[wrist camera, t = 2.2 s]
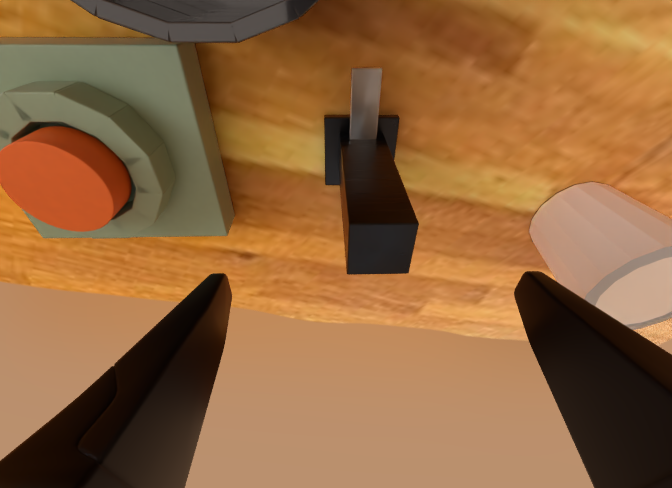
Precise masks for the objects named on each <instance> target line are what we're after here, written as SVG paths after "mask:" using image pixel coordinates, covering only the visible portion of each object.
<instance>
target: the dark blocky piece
mask: <svg viewBox="0 0 672 488" xmlns="http://www.w3.org/2000/svg"><path fill="white" fill-rule="evenodd" d="M381 80H382V67H352V71H351V101H350V115H325V116H324V126H325V184H326V185H340V193H341V206H342V219H343V231H344V244H345V257H346V269H347V274H403V273H409V268H410V263H411V259H412V254H413V249H414V244H415V239H416V235H417V230H418V225H419V223H418V220H417V218H416V215H415V213H414V210H413V208H412V205H411V203H410V200H409V198H408V195H407V193H406V190H405V187H404V185H403V182H402V180H401V177H400V175H399V172H398V170H397V167H396V165H395V162H394V157H395V149H396V142H397V134H398V126H399V116H398V115H378V114H379V103H380V91H381Z"/></svg>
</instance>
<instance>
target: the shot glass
mask: <svg viewBox="0 0 672 488" xmlns="http://www.w3.org/2000/svg"><path fill="white" fill-rule="evenodd" d="M529 233H530V236H531V239H532V241H533V243H534V245H535V246H536V248H537V249H538V251H539V253H540V254H541V256H542V258H543V259H544V261H545V262H546V264H547V266H548V267H549V269H550V271H551V272H552V274H553V275H554V277H555V279H556V280H557V282H558V283H559V284H561V285H563V286H564V287H566V288H567V289H569V290H570V291H572V292H574V293H575V294H577V295H578V296H580V297H581V298H583V299H585V300H586V301H588V302H589V303H591V304H592V305H594V306H596V307H597V308H599V309H600V310H602V311H603V312H605V313H607V314H608V315H610V316H611V317H613V318H614V319H616V320H618V321H619V322H621V323H622V324H624V325H626V326H627V327H629V328H630V329H632V330H634V329H640V328H643V327H647V326H650V325H653V324H656V323H659V322H663V321H666V320H668V319H670V318H672V219H670V218H668V217H667V216H665V215H663V214H661V213H659V212H657V211H656V210H654V209H652V208H650V207H648V206H646V205H644V204H643V203H641V202H639V201H637V200H635V199H633V198H631V197H630V196H628V195H626V194H624V193H622V192H620V191H618V190H617V189H615V188H613V187H611V186H609V185H607V184H602V183H596V182H589V183H583V184H578V185H573V186H571V187H569V188H567V189H565V190H563V191H561V192H559V193H557V194H555V195H554V196H553V197H551V198H550V199H549V200H548V201H547V202H545V203H544V204H543V205H542V206H541V207H540V208H539V210H538V211H537V213H536V214H535V215H534V217H533V218H532V221H531V225H530V229H529Z"/></svg>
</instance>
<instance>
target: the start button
mask: <svg viewBox="0 0 672 488" xmlns="http://www.w3.org/2000/svg"><path fill="white" fill-rule="evenodd" d="M0 184H1V186H2V187H3V189H4V190H5V192H6V193H7V194H8V196H9V197H10V198H11V199H12V200H13V201H14V202H15V203H16V204H17V205H18V206H20V207H21V208H22V209H23V210H25V211H26V212H27V213H29V214H30V215H32V216H33V217H35V218H37V219H39V220H40V221H42V222H45V223H47V224H49V225H52V226H54V227H57V228H61V229H64V230H69V231H77V232H86V231H93V230H97V229H100V228H102V227H104V226H105V225H106V224H108V223H109V221H110V220H111V219H112V218H113V217H114V216H115V215H116V214H117V213H118V211H119V210H120V209H121V208H122V207H123V206H124V205H125V204H126V202H127V201H128V200H129V198H130V195H131V189H132V186H131V179H130V176H129V173H128V171H127V169H126V167H125V166H124V164H123V163H122V161H121V160H120V159H119V157H118V156H117V155H116V154H115V153H114V152H113V151H112V150H111V149H109V148H108V147H107V146H106V145H105V144H103V143H102V142H101V141H99V140H98V139H96V138H94V137H93V136H91V135H89V134H87V133H84V132H82V131H79V130H76V129H73V128H69V127H63V126H48V127H44V128H41V129H38V130H36V131H34V132H32V133H30V134H28V135H26V136H24V137H22V138H20V139H18V140H16V141H15V142H13V143H11V144H9V145H7V146H5V147H4V148H3V149H2V150H1V151H0Z"/></svg>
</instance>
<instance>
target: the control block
mask: <svg viewBox="0 0 672 488" xmlns="http://www.w3.org/2000/svg"><path fill="white" fill-rule="evenodd" d="M48 126H63V127H69V128H73V129H76V130H79V131H82V132H84V133H87V134H89V135H91V136H93V137H94V138H96V139H98V140H99V141H101V142H102V143H103V144H105V145H106V146H107V147H108V148H109V149H111V150H112V151H113V152H114V153H115V154H116V155H117V156H118V157H119V159H120V160H121V161H122V163H123V164H124V166H125V167H126V169H127V171H128V173H129V176H130V179H131V186H132V189H131V195H130V198H129V200H128V201H127V202H126V204H125V205H124V206H123V207H122V208H121V209H120V210H119V211H118V213H117V214H116V215H115V216H114V217H113V218H112V219H111V220H110V221H109V223H108V224H106V225H105V226H104V227H102V228H100V229H97V230H93V231H86V232H77V231H69V230H64V229H61V228H57V227H54V226H52V225H49V224H47V223H45V222H42V221H40V220H39V219H37V218H35V217H33V216H32V215H30V214H29V213H27V212H26V211H25V210H23V209H22V210H23V211H24V212H25V214H26V215H27V217H28V218H29V219H30V221H31V222H32V223H33V225H34V226H35V227H36V229H37V230H38V232H39V233H40V234H41V236H42V237H43V238H130V237H179V236H227V235H228V233H229V230H230V227H231V225H232V222H233V219H234V217H235V214H234V210H233V206H232V201H231V197H230V193H229V189H228V184H227V180H226V176H225V172H224V167H223V163H222V159H221V154H220V150H219V146H218V142H217V137H216V133H215V129H214V125H213V120H212V116H211V112H210V107H209V103H208V99H207V95H206V90H205V86H204V82H203V77H202V73H201V69H200V65H199V60H198V56H197V52H196V48H195V43H172V42H167V41H164V40H161V39H158V38H87V37H0V151H1V150H2V149H3V148H4V147H5V146H7V145H9V144H11V143H13V142H15V141H16V140H18V139H20V138H22V137H24V136H26V135H28V134H30V133H32V132H34V131H36V130H38V129H41V128H44V127H48Z"/></svg>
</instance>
